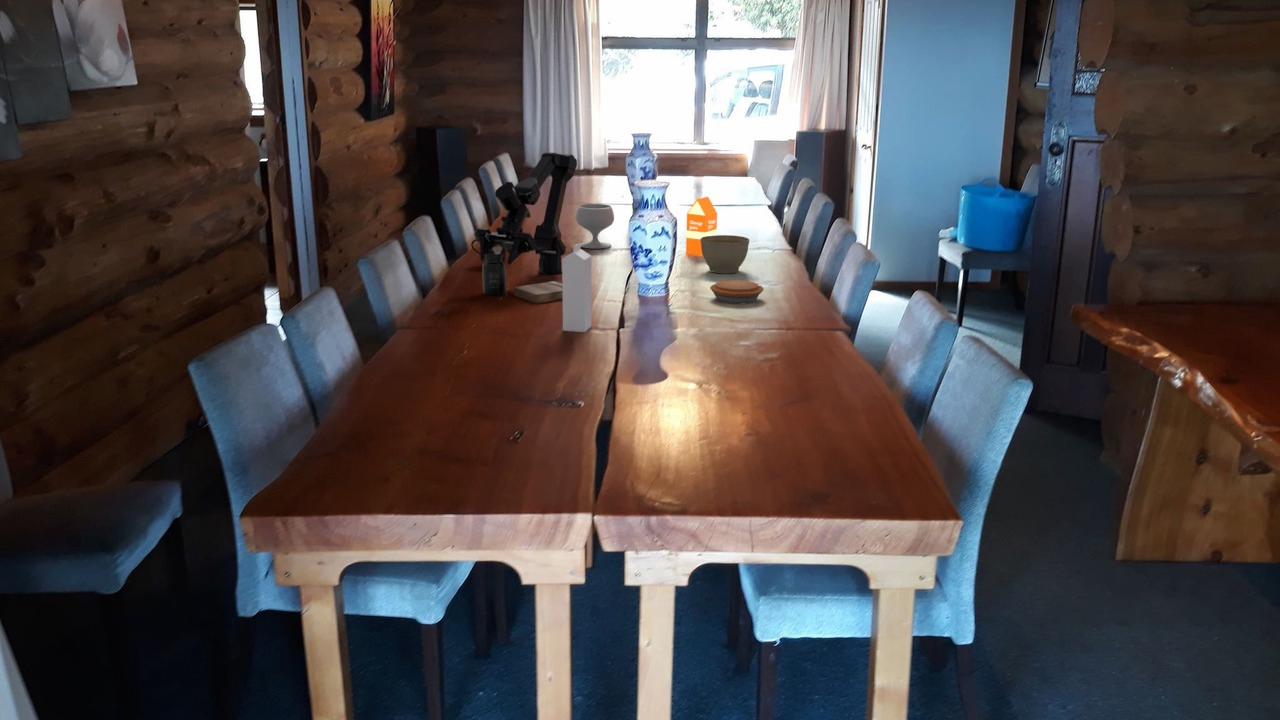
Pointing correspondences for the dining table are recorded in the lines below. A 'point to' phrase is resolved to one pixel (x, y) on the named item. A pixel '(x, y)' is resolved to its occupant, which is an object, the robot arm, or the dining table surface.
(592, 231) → the chalice
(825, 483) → the dining table surface
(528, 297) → the beige flat block
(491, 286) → the supplement bottle
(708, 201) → the orange juice
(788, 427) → the dining table surface
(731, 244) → the planter bowl
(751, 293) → the pie
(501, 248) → the coffee mug
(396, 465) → the dining table surface
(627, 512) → the dining table surface
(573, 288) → the milk
